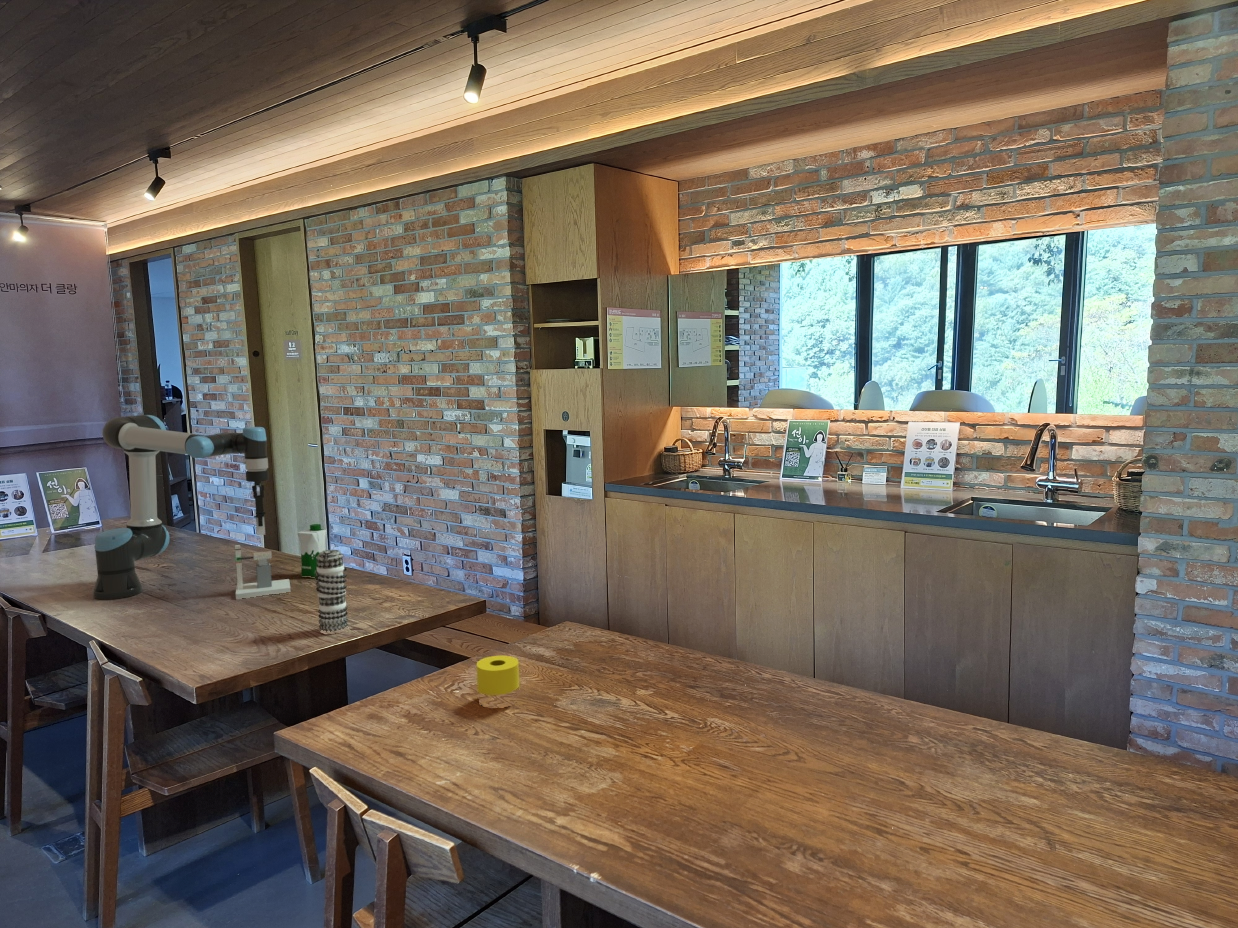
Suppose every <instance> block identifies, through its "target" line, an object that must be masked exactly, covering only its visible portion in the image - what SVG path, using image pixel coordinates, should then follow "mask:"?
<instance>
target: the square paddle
mask: <svg viewBox="0 0 1238 928" xmlns="http://www.w3.org/2000/svg"><path fill="white" fill-rule="evenodd" d="M272 555H273V554H272V550H269V551H257V552H253V556H246V557H245V556H244V557H243V556H242V557H241V558H237V560H251V559H253V561H258V564H259V566H267V565H268V563H269V562H268V559H269V560H270V559H272V558H273V557H272Z"/></svg>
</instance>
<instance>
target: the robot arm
mask: <svg viewBox="0 0 1238 928" xmlns="http://www.w3.org/2000/svg"><path fill="white" fill-rule="evenodd" d="M101 433H102V439H103V440H104V442H105V443H106V444H107V445H108V446H110V447H112V448H113V449H114V448H115V449H119V450H120V449H122V450H123V453H125V454H126V455H128V466H129V467H128V468H129V469H128V470H129V493H130V495H129V496H130V498H129V499H130V519H129V520H128V521H127V522H126V527H119V528H113V529H108V530H104V531H102V532H99V533H98V534H97V535H96V536H95V537H94V545H93V546H94V552H95V561H96V570H97V577H96V581H95V585H94V588H93V598H94V599H96V600H117V599H124V598H129V597H132V596H136V595H138V594H141V593H142V592H143V584H142V582H141V581H140V577H139V576H138V574H137V572H136V567H135V565H136V564H135V562H136V561H140V560H143V559H147V558H152V557H155V556H156V555H159V554H161V553H163V552H165V550H166V549H167V548H168V546H169V543H170V533H169V531H168V530H167V528H166V526H165V525H163V521H162V520H161V519H159V517H158V501H157V499H158V498H157V496H158V495H157V465H156V464H157V462H156V456H157V454H159V453H160V452H166V453H171V454H172V453H173V454H180V455H188V456H190V457H191V458H193V459H205V458H209V457H210V458H211V457H217V456H223V455H230V454H232V455H233V454H243V455H244V456H243V457H244V461H243V462H242V464H243V465H244V466H245V470H246V471H245V481H247V482H249V483H253V485H251V490H252V494H253V496H252V497H253V499H254V502H255V504H254V505H255V515H254V516H253V518H254V519H255V523H256V536H264V535H265V536H266V522H265V515H267V514H266V511H264V510H265V509H264V501H263V500H264V497H265V494H264V491H265V485H264V484H262V482H266V481H268V480H269V479H270V477H269V475H270V474H269V470H268V469H269V459H268V452H267V451H268V449H267V448H268V447H267V444H268V443H267V440H268V439H267V434H266V433H267V432H266V429H265V428H264V427H262V426H247V427H244V428H243V429H242V432H227V431H226V432H225V431H224V432H218V433H215V434H214V433H213V434H207V435H204V434H196V433H189V432H182V431H175V430H167V428H166V425H165V424H164V421H162V420H161V419H160V418H159V417H157V416H156V415H151V414H138V415H128V416H116V417H114V418H111V419H110V420H108V421H106V423H105V424H104V426H103V427H102V432H101Z"/></svg>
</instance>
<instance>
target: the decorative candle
mask: <svg viewBox="0 0 1238 928" xmlns="http://www.w3.org/2000/svg"><path fill="white" fill-rule="evenodd" d="M316 558H317V570H316V571H315V572H314V573H315V575H316V576H315V580H316V582H315V586H316V589H315V590H316V591H317V592H318V593H317V594H316V595H317V597H318V601H319V604H318V610H317V612H318V613H319V614H318V618H319V620H318V624H319V626H318V628H319V630H320V629H321V630H323V631H326V632H327V631H330V632H331V631H337V630H341V629H344V628H345V627H348V625H349V622H348V621H349V618H348V616H347V615H348V611H347V610H348V607H347V601H346V593H347V590H346V588H347V585H345V583H346V582H347V579H346V577H347V574H346V573H344V572H346V571H347V568H346V567H345V564H344V559H343V558H344V553H342V552H341V551H340V550H339V549H338V550H337V549H326V550H325V551H322V552H320V554H319V555H318V556H317V557H316Z"/></svg>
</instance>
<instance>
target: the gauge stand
mask: <svg viewBox="0 0 1238 928" xmlns="http://www.w3.org/2000/svg"><path fill="white" fill-rule="evenodd" d="M234 547H235V548H234V552H235V558H234V559H235V565H236V575H237V577H236V579H237V584H236V587H235V599H236V600H243V599H242V598H246V599H251V598H250V597H254V598H257V597H256V596H262V595H269V594H279V593H286V592H291V584H290V579H289V578H287V579H278V580H275V579H274V580H273V579H272V567H271V563H270V562H268V565H267V566H259V563H257V564H255V570H256V582H250V583H244V582H243V580H244V579H243V569H242V567H243V566H242V562H243V561H242V560H243V559H242V560H237V558H242V552H241V545H240V544H238V545H237V544H236V545H234ZM291 593H292V592H291Z"/></svg>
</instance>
